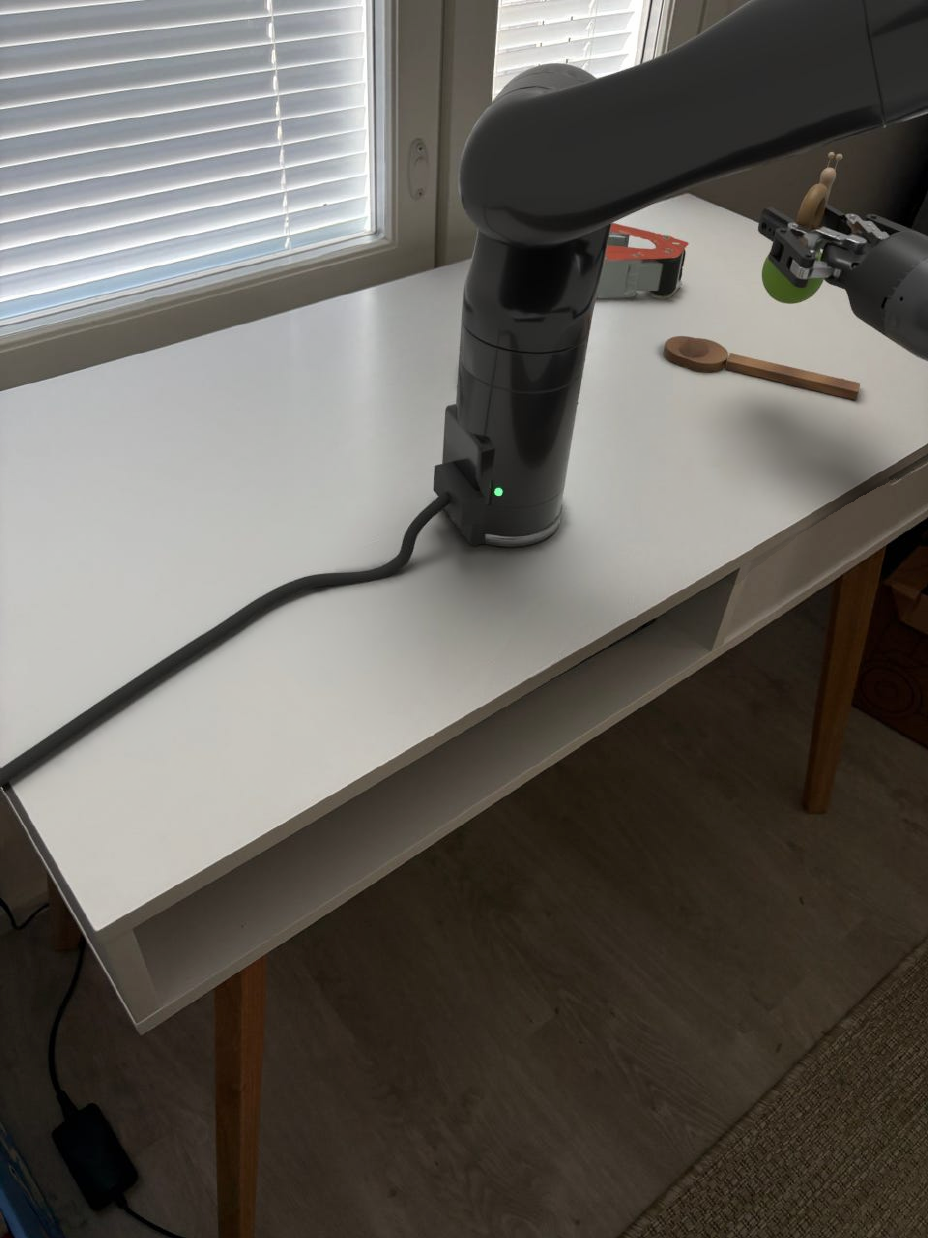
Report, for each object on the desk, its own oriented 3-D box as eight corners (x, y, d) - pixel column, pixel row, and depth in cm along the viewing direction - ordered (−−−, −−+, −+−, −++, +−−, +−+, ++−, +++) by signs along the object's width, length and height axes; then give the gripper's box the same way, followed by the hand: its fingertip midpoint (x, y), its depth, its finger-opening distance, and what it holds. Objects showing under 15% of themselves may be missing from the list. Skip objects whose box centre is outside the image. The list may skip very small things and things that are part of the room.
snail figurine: (823, 293, 94) (868, 159, 85) (806, 320, 89) (852, 181, 81) (766, 277, 95) (805, 144, 87) (747, 302, 91) (786, 165, 83)
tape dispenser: (537, 346, 107) (710, 322, 111) (540, 301, 103) (720, 278, 107) (492, 265, 119) (651, 245, 122) (493, 221, 115) (657, 202, 118)
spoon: (858, 383, 103) (861, 374, 102) (854, 408, 99) (857, 399, 99) (669, 339, 107) (671, 330, 107) (658, 361, 104) (660, 352, 103)
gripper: (1012, 240, 79) (862, 162, 89) (874, 265, 73) (732, 179, 84) (972, 329, 84) (835, 245, 95) (840, 358, 79) (711, 266, 89)
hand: (787, 215), depth 89 cm, fingers closed on snail figurine, 4 cm apart
